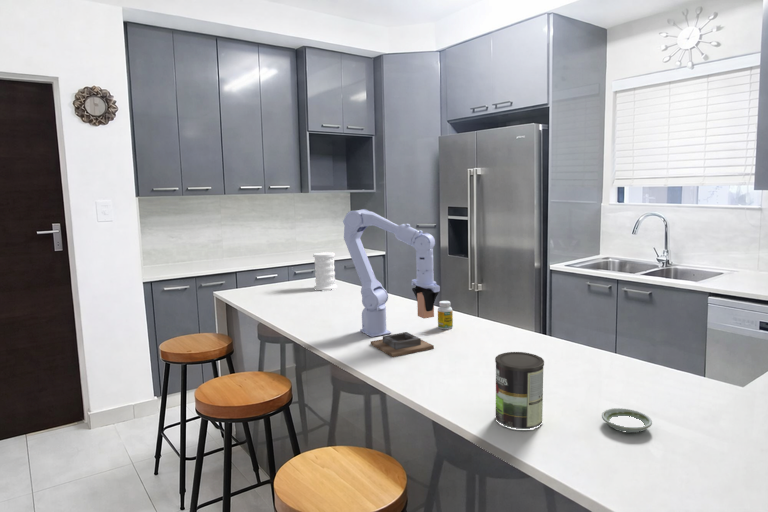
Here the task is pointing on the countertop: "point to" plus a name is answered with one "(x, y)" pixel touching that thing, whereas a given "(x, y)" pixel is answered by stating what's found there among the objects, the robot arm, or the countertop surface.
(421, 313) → the peg
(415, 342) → the peg holder
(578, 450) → the countertop surface
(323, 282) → the decorative container
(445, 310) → the supplement bottle
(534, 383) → the coffee can
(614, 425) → the grey-green ring
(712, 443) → the countertop surface
